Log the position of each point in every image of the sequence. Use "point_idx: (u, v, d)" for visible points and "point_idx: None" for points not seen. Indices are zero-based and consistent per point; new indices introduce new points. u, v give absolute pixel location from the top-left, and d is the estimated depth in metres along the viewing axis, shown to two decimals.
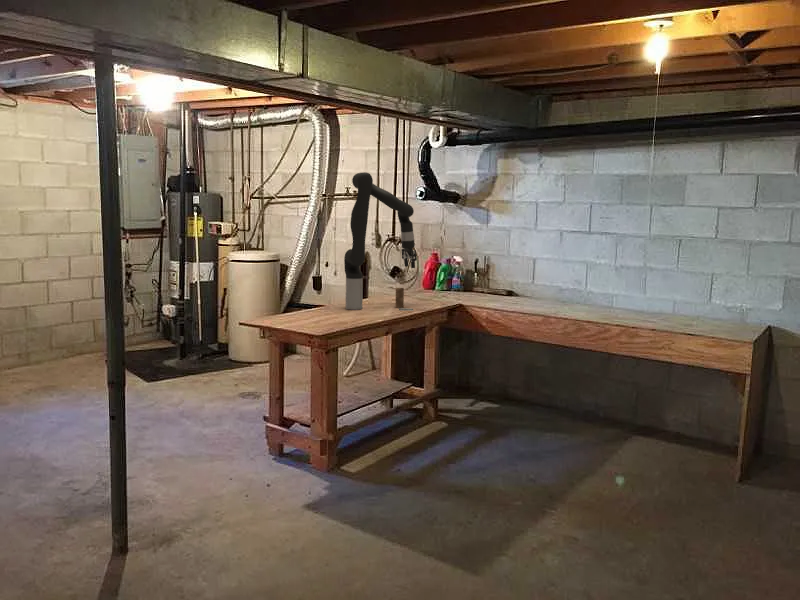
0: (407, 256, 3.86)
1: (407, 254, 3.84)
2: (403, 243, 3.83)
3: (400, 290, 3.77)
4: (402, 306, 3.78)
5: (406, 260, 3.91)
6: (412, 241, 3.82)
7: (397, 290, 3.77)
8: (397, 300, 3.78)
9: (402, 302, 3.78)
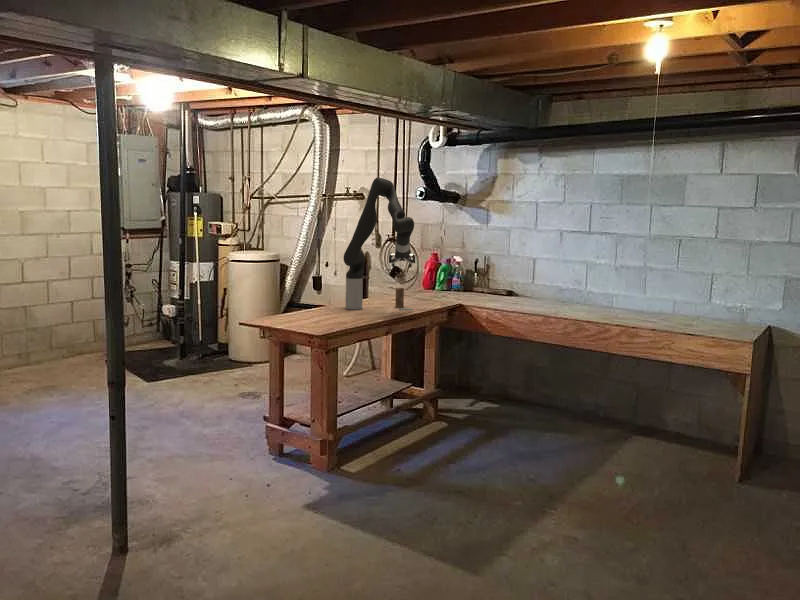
0: None
1: None
2: None
3: (400, 290, 3.77)
4: (402, 306, 3.78)
5: (409, 262, 3.61)
6: (395, 249, 3.50)
7: (397, 290, 3.77)
8: (397, 300, 3.78)
9: (402, 302, 3.78)
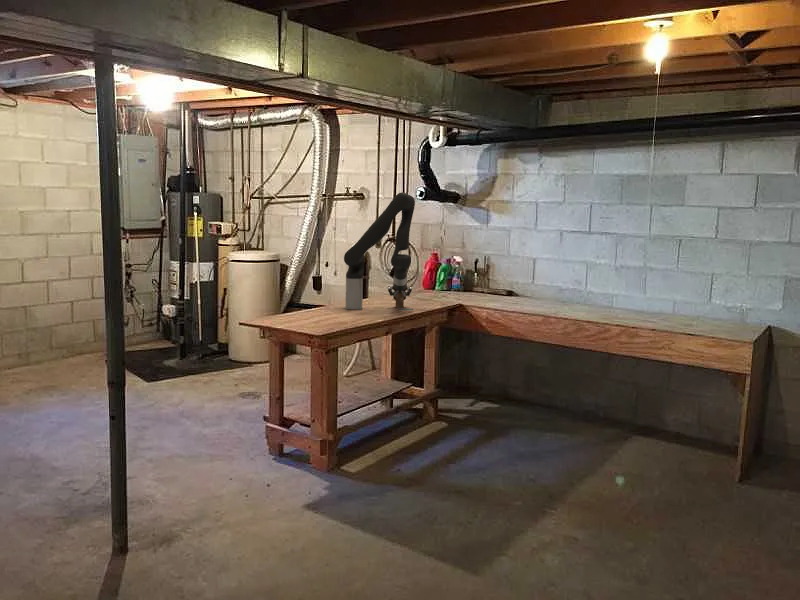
0: None
1: None
2: None
3: None
4: (402, 306, 3.78)
5: None
6: (393, 283, 3.68)
7: None
8: (397, 300, 3.78)
9: (402, 302, 3.78)
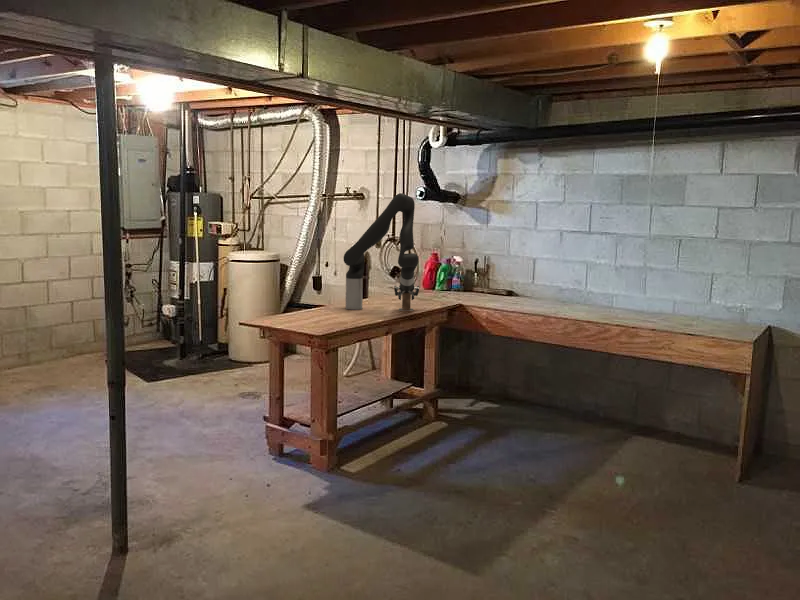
0: None
1: None
2: None
3: None
4: (409, 308, 3.70)
5: None
6: (400, 283, 3.60)
7: None
8: (404, 302, 3.70)
9: (409, 304, 3.70)
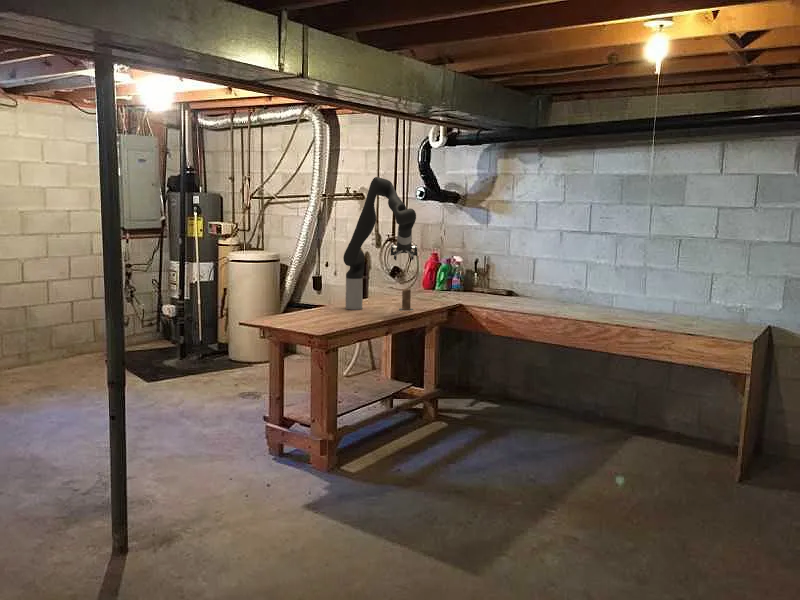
0: None
1: None
2: None
3: (407, 292, 3.69)
4: (409, 308, 3.70)
5: (411, 255, 3.58)
6: (397, 242, 3.48)
7: (404, 292, 3.69)
8: (404, 302, 3.70)
9: (409, 304, 3.70)
